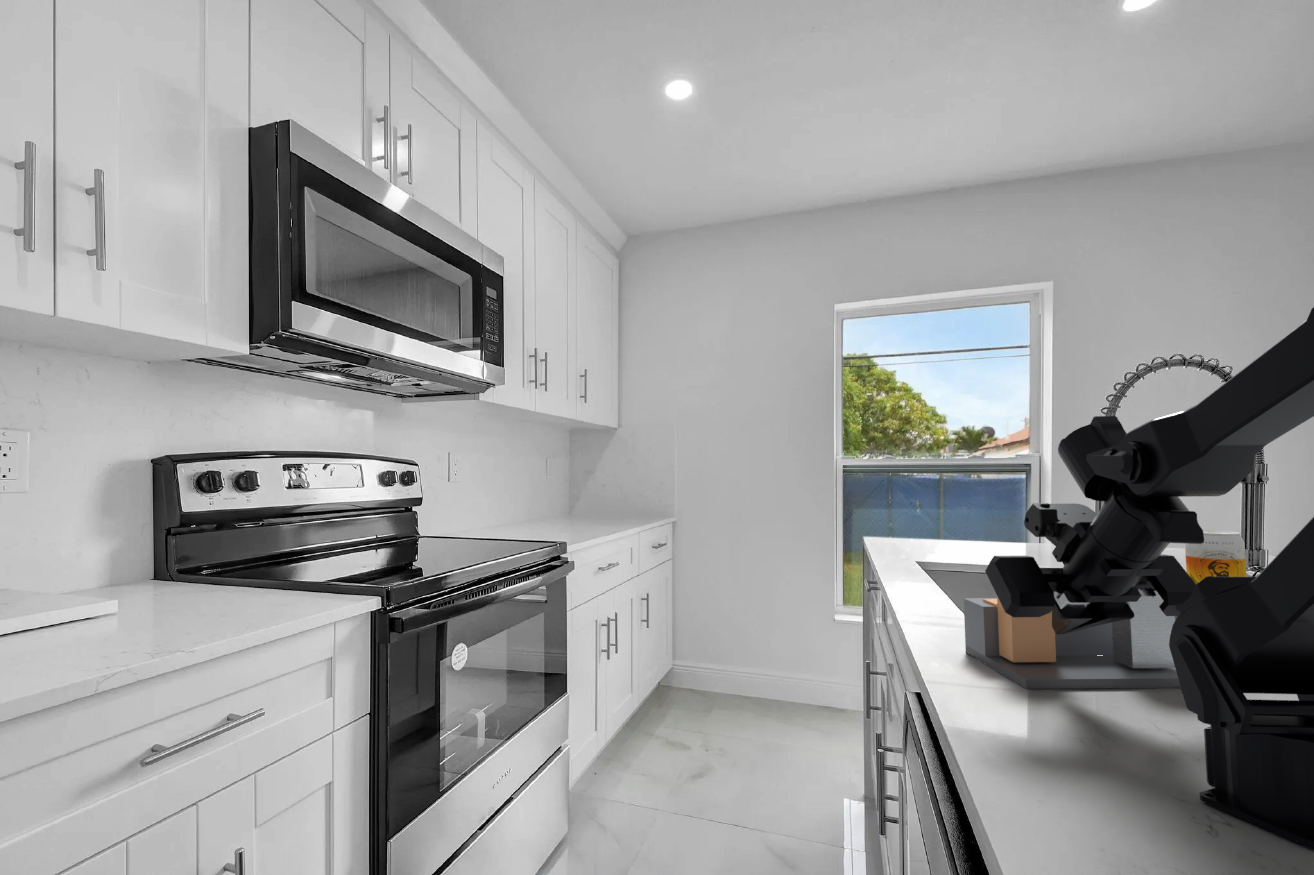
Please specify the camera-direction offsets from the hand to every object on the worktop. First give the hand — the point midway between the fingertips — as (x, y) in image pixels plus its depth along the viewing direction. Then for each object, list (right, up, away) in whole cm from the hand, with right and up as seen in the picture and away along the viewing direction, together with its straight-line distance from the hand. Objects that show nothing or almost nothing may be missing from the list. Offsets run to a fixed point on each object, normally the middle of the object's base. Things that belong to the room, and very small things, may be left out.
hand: (1057, 630), depth 69 cm
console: (+6, -6, +6) cm, 11 cm away
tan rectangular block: (0, -5, +6) cm, 8 cm away
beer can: (+32, -7, +15) cm, 36 cm away
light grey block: (+12, -5, +3) cm, 13 cm away
